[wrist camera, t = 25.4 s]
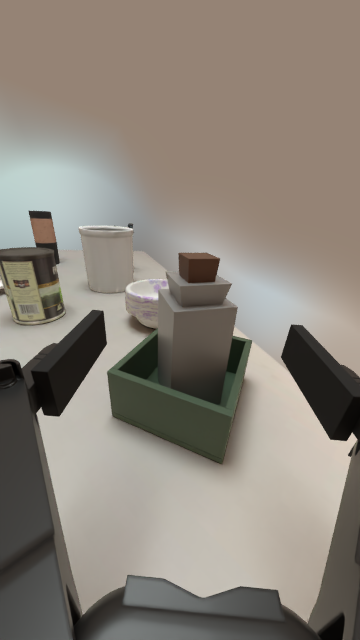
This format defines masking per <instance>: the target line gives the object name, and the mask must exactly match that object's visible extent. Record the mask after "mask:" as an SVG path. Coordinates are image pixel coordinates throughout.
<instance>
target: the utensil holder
mask: <svg viewBox="0 0 360 640" xmlns="http://www.w3.org/2000/svg"><path fill="white" fill-rule="evenodd" d="M79 233H80V234H81V240H82V247H83V253H84V259H85V266H86V272H87V277H88V283H89V287H90V289H91V290H93V291H96V292H101V293H118V292H123V291H125V288H126V286H127V285H129V284H130V283H133V241H132V235H133V229H132V228H126V227H117V226H82V227H79Z"/></svg>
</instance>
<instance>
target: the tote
mask: <svg viewBox="0 0 360 640" xmlns="http://www.w3.org/2000/svg"><path fill="white" fill-rule="evenodd" d="M251 344H252V340H248V339H244V338H240V337H236V336H232V342H231V347H230V353H229V358H228V364H227V369H226V375H225V381H224V386H223V392H222V397H221V403H220V404H218V405H216V404H213V403H210V402H207V401H205V400H202V399H199V398H196V397H193V396H190V395H188V394H185V393H182V392H179V391H176V390H173V389H171V388H168V387H165V386H162V385H160V384H159V381H158V328H157V329H156V330H155V331H154V332H152V333H151V334H150V335H149V336H148V337H147V338H145V339H144V340H143V341H142V342H141V343H140V344H139V345H137V346H136V347H135V348H134V349H133V350H132V351H131V352H129V353H128V354H127V355H126V356H125V357H124V358H123V359H121V360H120V361H119V362H118V363H117V364H116V365H114V366H113V367H112V368H111V369H110V370H109V371H108V372H107V375H108V383H109V392H110V400H111V409H112V416H114V417H116V418H118V419H121V420H123V421H125V422H127V423H130V424H132V425H134V426H136V427H139V428H141V429H143V430H145V431H148V432H150V433H152V434H155V435H157V436H159V437H161V438H164V439H166V440H168V441H170V442H173V443H175V444H177V445H179V446H182V447H184V448H186V449H189V450H191V451H193V452H195V453H198V454H200V455H202V456H204V457H207V458H209V459H211V460H214V461H216V462H218V463H220V464H222V462H223V458H224V454H225V450H226V446H227V442H228V438H229V434H230V430H231V427H232V423H233V419H234V415H235V411H236V407H237V403H238V399H239V395H240V391H241V387H242V383H243V379H244V375H245V370H246V366H247V361H248V357H249V353H250V348H251Z"/></svg>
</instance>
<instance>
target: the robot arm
mask: <svg viewBox="0 0 360 640" xmlns="http://www.w3.org/2000/svg"><path fill="white" fill-rule="evenodd" d="M106 345H107V341H106V331H105V322H104V313H103V311H99V310H92V311H91V312H90V313H89V314H88V315H87V316H86V317H85V318H84V319H83V320H82V321H81V322H80V323H79V324H78V325H77V326H76V327H75V328H74V329H73V330H72V331H71V332H70V333H69V334H68V335H66V336H65V337H64V338H63V339H62V340H61V341H60V342H59V343H58V344H56V343H53V344H51V345H49V346H47V347H45V348H44V349H43V350H41V351H40V352H39V353H38V355H36V356H35V357H34V358H33V359H32V360H30V361H29V362H28V363H27V364H26V365H25V366H24V367H23V368H22V369H21V366H20V363H19V362H18V361H17V360H14V359H7V360H1V361H0V640H360V378H359V376H357V375H356V373H355V372H354V371H352V370H350V369H349V368H347V367H346V366H344V365H340V364H339V363H338V362H337V361H336V360H335V359H334V358H333V357H332V356H331V355H330V354H329V353H328V352H327V350H325V348H323V346H322V345H321V344H320V343H319V342H318V341H317V340H316V339H315V338H314V337H313V336H312V335H311V334H310V333H309V332H308V331H307V330H306V329H305V328H304V327H303V326H302V325H291V327H290V330H289V333H288V336H287V340H286V343H285V346H284V349H283V353H282V356H281V358H282V360H283V362H284V363H285V364H286V367H287V368H288V370H289V372H290V373H291V375H292V377H293V378H294V380H295V382H296V383H297V385H298V387H299V388H300V390H301V391H302V393H303V395H304V396H305V398H306V400H307V401H308V403H309V405H310V406H311V408H312V410H313V411H314V413H315V415H316V416H317V418H318V420H319V421H320V423H321V425H322V426H323V428H324V430H325V431H326V433H327V435H328V436H329V438H330V440H341V441H347V440H348V438H349V437H350V435H351V433H352V432H353V434H354V435H355V437H356V438H357V439H358V440H357V441H356V443H355V445H354V446H353V448H352V449H351V451H350V453H349V454H348V456H350V457H351V456H352V457H351V461H350V465H349V470H348V474H347V478H346V482H345V486H344V491H343V495H342V499H341V503H340V508H339V512H338V516H337V520H336V525H335V529H334V533H333V537H332V541H331V546H330V550H329V554H328V558H327V563H326V567H325V571H324V575H323V579H322V584H321V588H320V592H319V596H318V599H317V602H316V604H315V606H314V608H313V611H312V613H311V615H310V618H309V621H308V624H307V623H306V622H305V621H304V620H303V619H301V618H300V617H299V616H298V615H297V614H296V613H294V612H293V611H292V610H290V609H289V608H287V607H286V606H284V605H282V604H281V602H280V598H279V593H278V590H271V589H261V588H251V587H241V586H240V587H237V588H234V589H231V590H228V591H225V592H222V593H219V594H215V595H212V596H209V597H206V598H201V597H198V596H196V595H194V594H192V593H191V592H189V591H187V590H185V589H183V588H181V587H179V586H177V585H175V584H173V583H171V582H169V581H167V580H166V579H162V578H153V577H143V576H133V575H127V581H126V586H125V587H121V588H118V589H116V590H114V591H112V592H110V593H108V594H107V595H105V596H104V597H102V598H101V599H99V600H98V601H97V602H96V603H95V604H94V605H93V606H91V607H90V608H89V609H88V610H87V611H86V613H85V614H84V615H82V611H81V606H80V602H79V598H78V594H77V590H76V586H75V583H74V579H73V575H72V571H71V567H70V563H69V558H68V553H67V549H66V544H65V540H64V535H63V531H62V526H61V522H60V517H59V513H58V508H57V504H56V499H55V495H54V490H53V485H52V481H51V476H50V472H49V467H48V463H47V458H46V454H45V449H44V445H43V440H42V436H41V431H40V426H39V422H38V418H37V415H36V413H37V412H38V410H39V409H40V408H41V407H42V410H43V413H44V415H47V416H60V415H61V413H62V412H63V410H64V409H65V407H66V406H67V404H68V403H69V401H70V400H71V398H72V397H73V395H74V393H75V392H76V390H77V389H78V387H79V386H80V384H81V383H82V381H83V380H84V378H85V377H86V375H87V374H88V372H89V371H90V369H91V367H92V366H93V364H94V363H95V361H96V360H97V358H98V357H99V355H100V354H101V352H102V351H103V349H104V348H105V346H106Z"/></svg>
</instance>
